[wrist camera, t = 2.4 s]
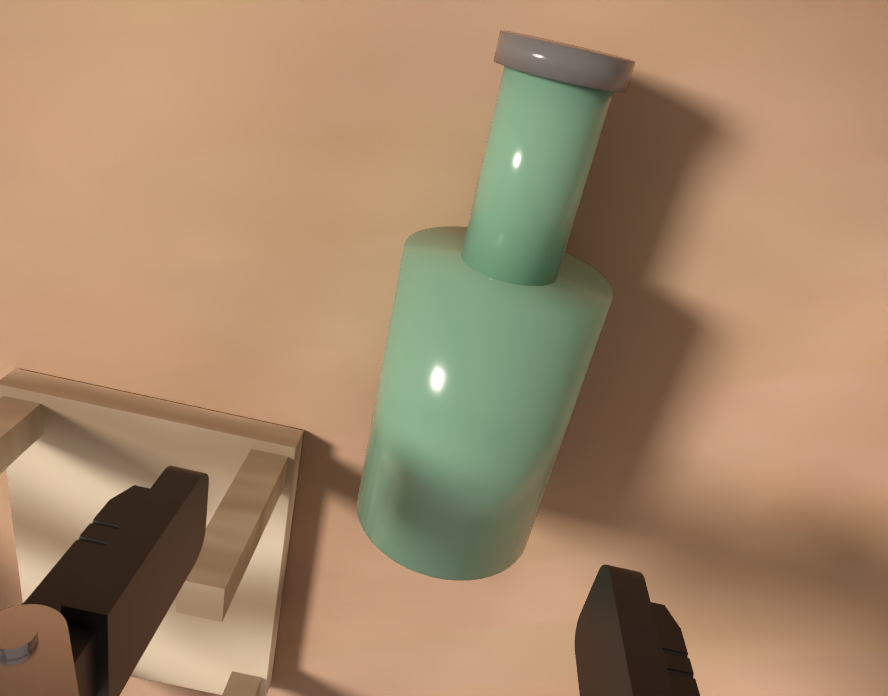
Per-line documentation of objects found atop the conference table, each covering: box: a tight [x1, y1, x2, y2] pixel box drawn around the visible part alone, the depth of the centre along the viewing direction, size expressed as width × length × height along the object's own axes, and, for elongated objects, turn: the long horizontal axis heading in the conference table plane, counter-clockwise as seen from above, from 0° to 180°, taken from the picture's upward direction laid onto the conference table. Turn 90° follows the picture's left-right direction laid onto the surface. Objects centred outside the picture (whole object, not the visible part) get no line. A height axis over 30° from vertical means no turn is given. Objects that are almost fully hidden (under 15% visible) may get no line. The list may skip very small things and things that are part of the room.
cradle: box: [0, 368, 304, 696], centre depth 22 cm, size 13×10×6 cm
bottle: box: [357, 30, 635, 580], centre depth 17 cm, size 13×5×5 cm, turn 168°
